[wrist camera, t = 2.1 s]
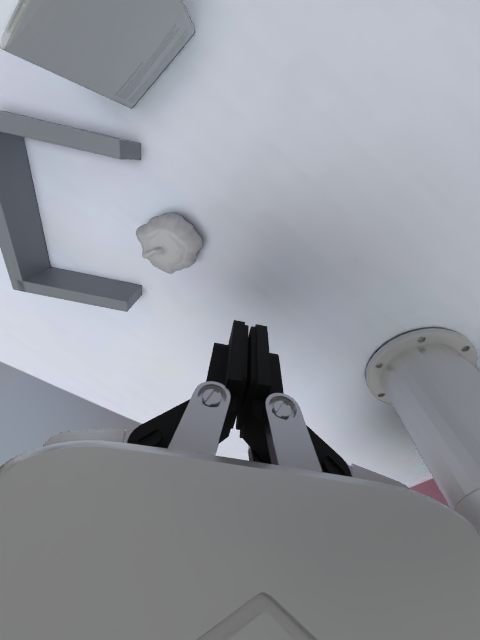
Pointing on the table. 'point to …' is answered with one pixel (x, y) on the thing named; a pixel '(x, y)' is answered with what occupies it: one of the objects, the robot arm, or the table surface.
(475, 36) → the table surface
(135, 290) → the box
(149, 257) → the garlic
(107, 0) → the supplement box
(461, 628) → the robot arm
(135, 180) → the table surface
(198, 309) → the table surface
